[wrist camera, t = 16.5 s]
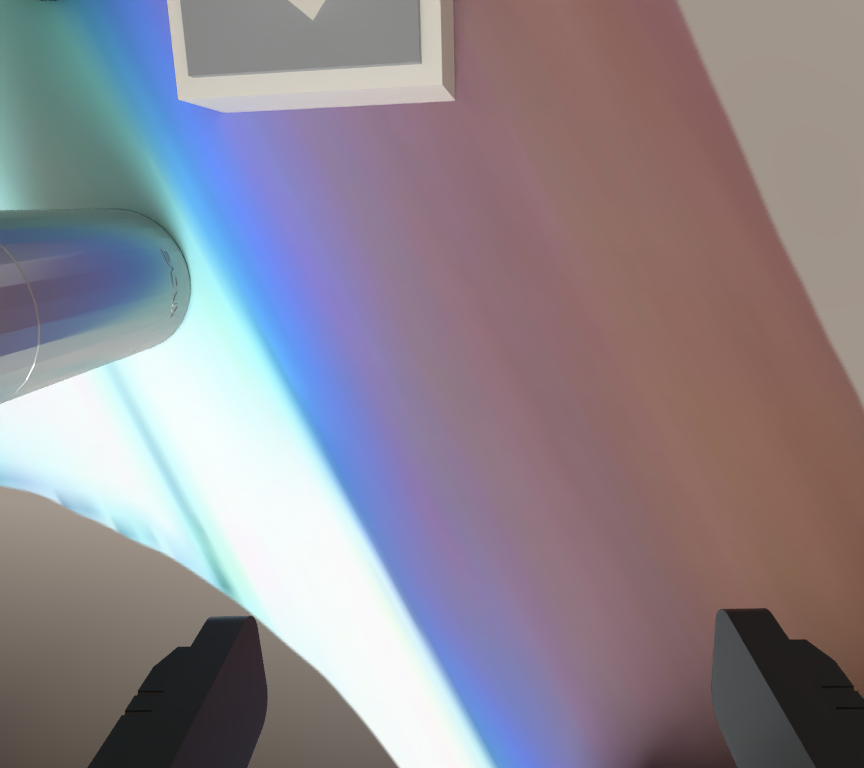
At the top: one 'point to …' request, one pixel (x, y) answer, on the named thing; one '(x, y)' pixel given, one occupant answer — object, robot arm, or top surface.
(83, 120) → the top surface
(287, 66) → the podium
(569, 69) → the top surface
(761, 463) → the top surface
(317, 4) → the carton
